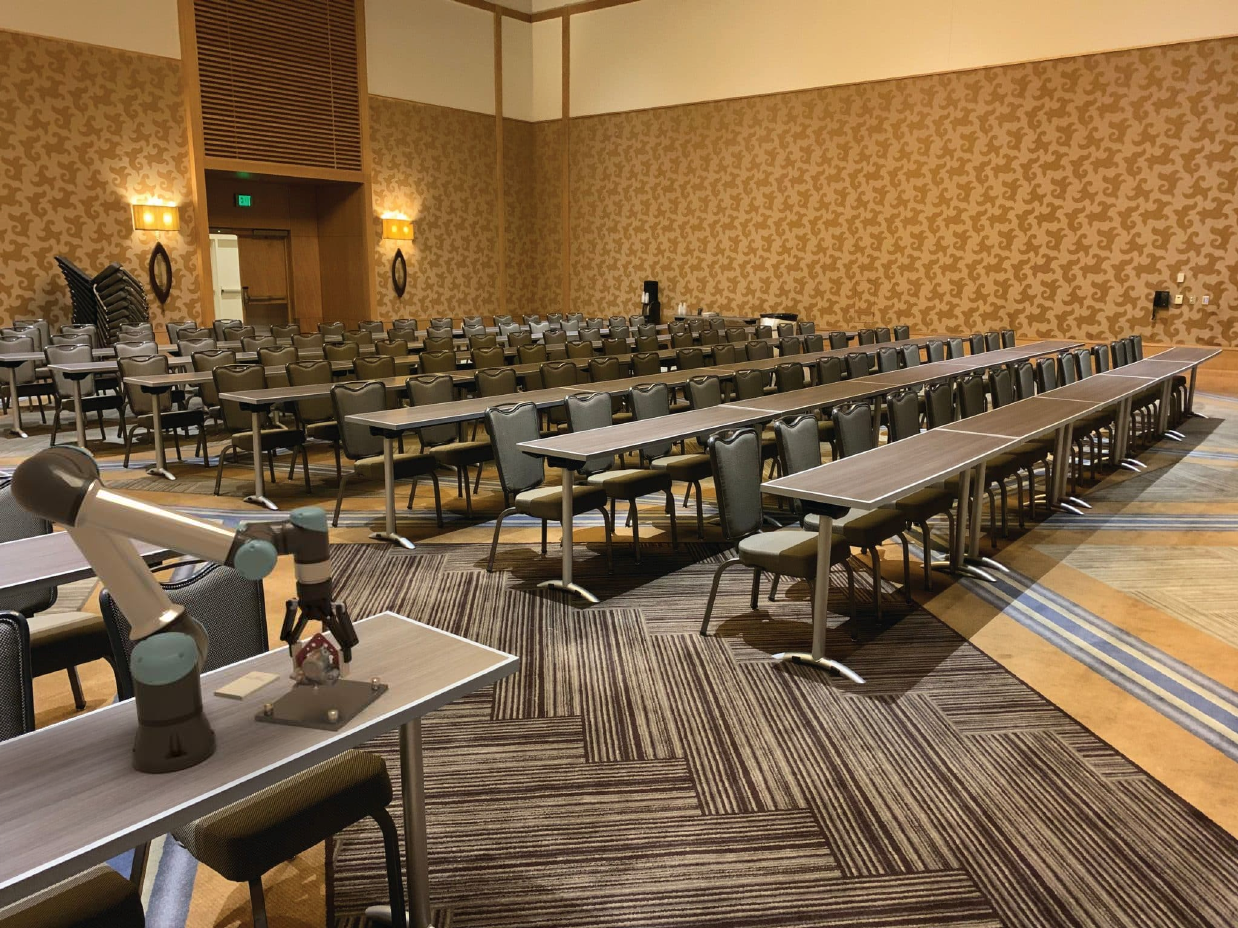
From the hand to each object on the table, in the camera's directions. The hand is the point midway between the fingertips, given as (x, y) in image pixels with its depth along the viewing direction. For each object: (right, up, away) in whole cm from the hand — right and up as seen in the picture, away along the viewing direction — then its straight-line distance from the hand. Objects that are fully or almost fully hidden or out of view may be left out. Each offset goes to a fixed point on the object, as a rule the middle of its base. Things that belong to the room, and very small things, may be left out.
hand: (322, 673), depth 201 cm
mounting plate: (0, -7, +1) cm, 7 cm away
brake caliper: (0, -2, 0) cm, 2 cm away
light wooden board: (-21, -7, +11) cm, 25 cm away
